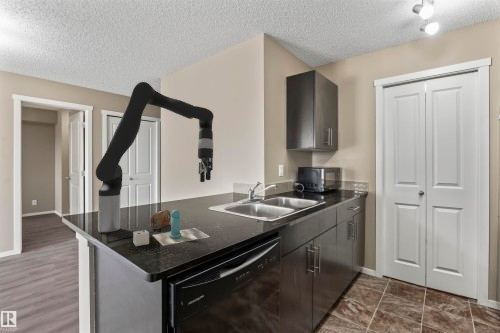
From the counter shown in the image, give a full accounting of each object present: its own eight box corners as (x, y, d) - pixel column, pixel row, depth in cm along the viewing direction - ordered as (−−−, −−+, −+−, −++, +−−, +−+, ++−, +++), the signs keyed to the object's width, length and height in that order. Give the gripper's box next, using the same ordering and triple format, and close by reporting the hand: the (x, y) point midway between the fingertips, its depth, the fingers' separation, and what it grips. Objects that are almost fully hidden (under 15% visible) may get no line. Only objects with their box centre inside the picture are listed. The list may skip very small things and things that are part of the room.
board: (163, 246, 97) (163, 245, 97) (151, 235, 111) (151, 234, 111) (210, 237, 110) (210, 236, 110) (194, 228, 123) (194, 227, 123)
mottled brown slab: (154, 231, 117) (154, 214, 117) (149, 231, 118) (149, 214, 118) (171, 224, 132) (171, 208, 132) (165, 223, 133) (165, 208, 132)
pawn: (171, 239, 105) (171, 211, 105) (167, 236, 109) (167, 209, 109) (183, 237, 108) (183, 210, 108) (178, 234, 112) (179, 208, 112)
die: (135, 247, 96) (135, 234, 96) (133, 243, 100) (133, 231, 100) (149, 245, 99) (149, 232, 99) (146, 241, 103) (146, 229, 103)
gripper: (194, 151, 126) (193, 182, 123) (202, 144, 114) (202, 178, 111) (208, 152, 129) (207, 183, 126) (217, 146, 117) (217, 179, 114)
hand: (205, 181), depth 119 cm, fingers open, 8 cm apart
